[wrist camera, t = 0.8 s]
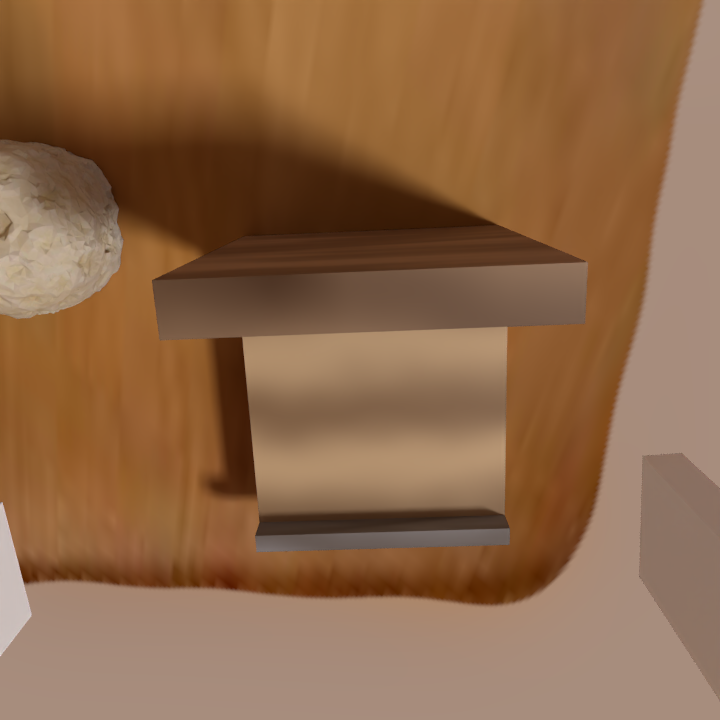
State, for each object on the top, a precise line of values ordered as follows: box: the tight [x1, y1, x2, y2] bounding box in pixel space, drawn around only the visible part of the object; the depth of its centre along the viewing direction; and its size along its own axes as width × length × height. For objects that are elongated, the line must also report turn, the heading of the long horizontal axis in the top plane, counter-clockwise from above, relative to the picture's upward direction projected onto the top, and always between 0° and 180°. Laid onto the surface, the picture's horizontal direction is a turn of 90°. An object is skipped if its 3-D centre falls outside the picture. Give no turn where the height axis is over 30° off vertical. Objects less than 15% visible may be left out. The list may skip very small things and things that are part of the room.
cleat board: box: [152, 225, 588, 552], centre depth 31 cm, size 17×14×16 cm
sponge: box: [0, 140, 123, 319], centre depth 34 cm, size 9×10×10 cm
